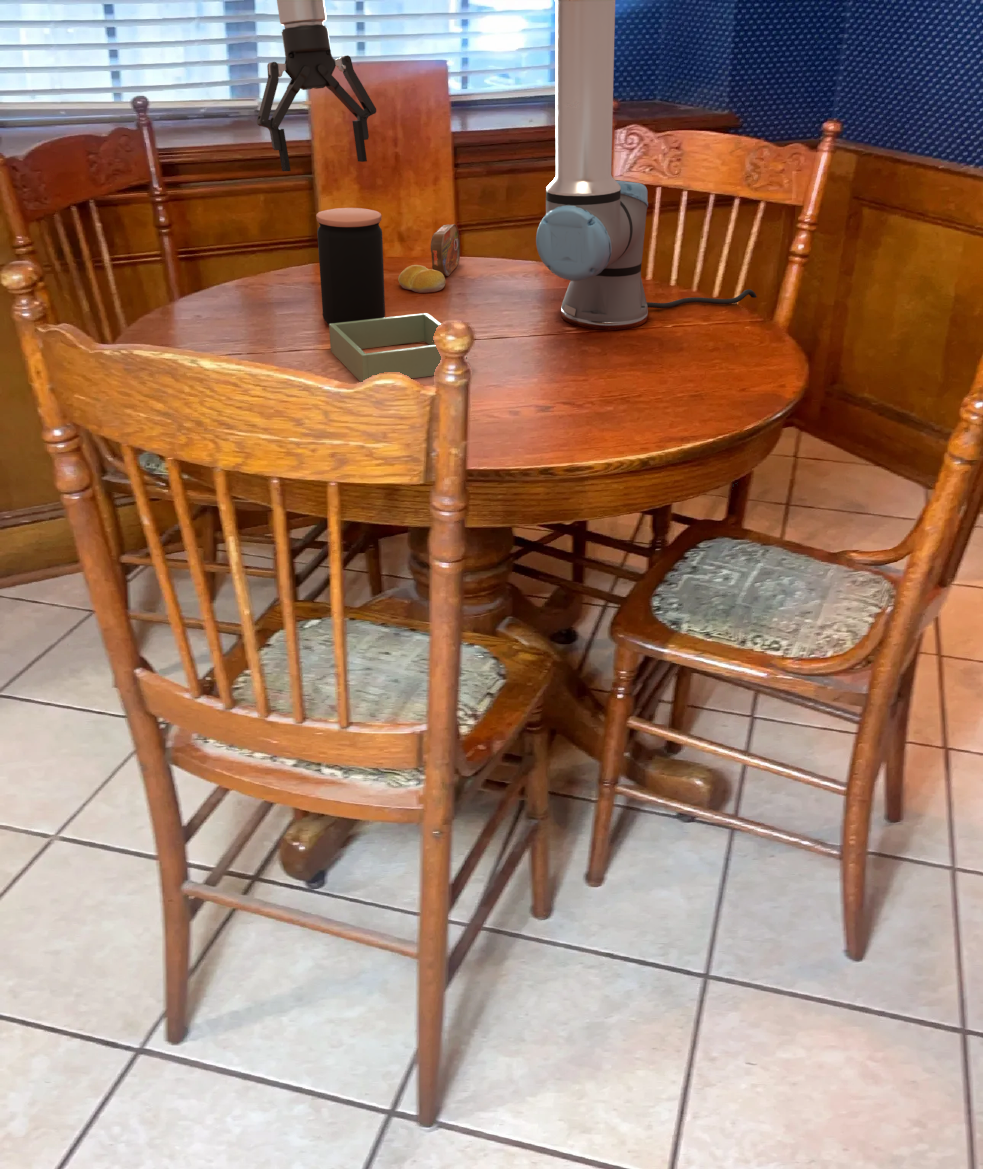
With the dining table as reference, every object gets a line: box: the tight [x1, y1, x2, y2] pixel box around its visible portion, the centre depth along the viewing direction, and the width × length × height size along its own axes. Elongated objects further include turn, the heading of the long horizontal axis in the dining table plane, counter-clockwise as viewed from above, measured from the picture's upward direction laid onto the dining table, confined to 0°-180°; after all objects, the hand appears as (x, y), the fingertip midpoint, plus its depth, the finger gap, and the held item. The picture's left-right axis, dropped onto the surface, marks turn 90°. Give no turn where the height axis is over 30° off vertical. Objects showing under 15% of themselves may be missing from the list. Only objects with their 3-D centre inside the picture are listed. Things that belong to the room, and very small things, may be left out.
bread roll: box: [398, 264, 446, 294], centre depth 198 cm, size 8×9×4 cm
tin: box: [430, 223, 461, 277], centre depth 208 cm, size 15×3×8 cm, turn 168°
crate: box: [328, 312, 468, 383], centre depth 161 cm, size 17×17×4 cm
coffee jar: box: [315, 207, 386, 327], centre depth 174 cm, size 11×11×18 cm
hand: (324, 166), depth 177 cm, fingers open, 13 cm apart
